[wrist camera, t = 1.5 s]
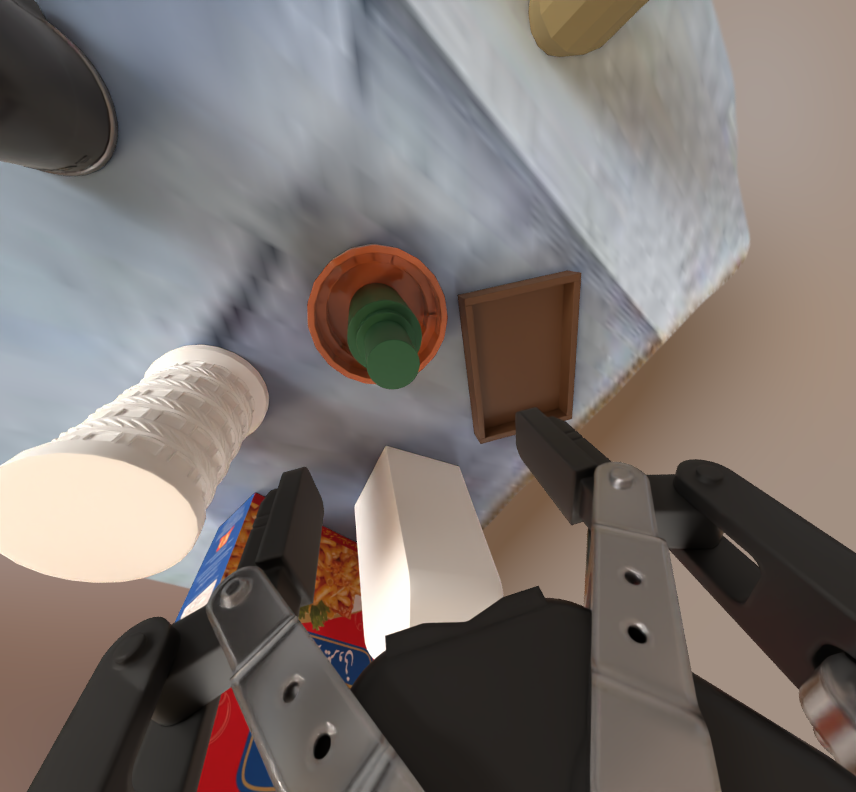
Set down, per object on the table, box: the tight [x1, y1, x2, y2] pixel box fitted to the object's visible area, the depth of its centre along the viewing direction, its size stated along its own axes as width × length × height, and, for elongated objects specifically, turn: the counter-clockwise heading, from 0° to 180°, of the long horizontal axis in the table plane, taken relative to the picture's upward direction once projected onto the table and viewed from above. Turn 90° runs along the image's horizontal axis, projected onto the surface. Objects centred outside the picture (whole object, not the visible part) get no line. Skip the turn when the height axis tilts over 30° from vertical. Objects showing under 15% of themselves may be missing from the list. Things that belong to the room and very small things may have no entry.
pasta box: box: [175, 492, 374, 792], centre depth 37 cm, size 28×8×28 cm, turn 42°
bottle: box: [347, 283, 422, 389], centre depth 27 cm, size 6×6×16 cm
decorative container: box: [0, 345, 269, 583], centre depth 27 cm, size 12×12×18 cm
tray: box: [458, 271, 581, 444], centre depth 40 cm, size 20×14×3 cm
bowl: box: [307, 244, 448, 384], centre depth 32 cm, size 13×13×5 cm
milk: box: [354, 446, 503, 659], centre depth 35 cm, size 12×12×26 cm
